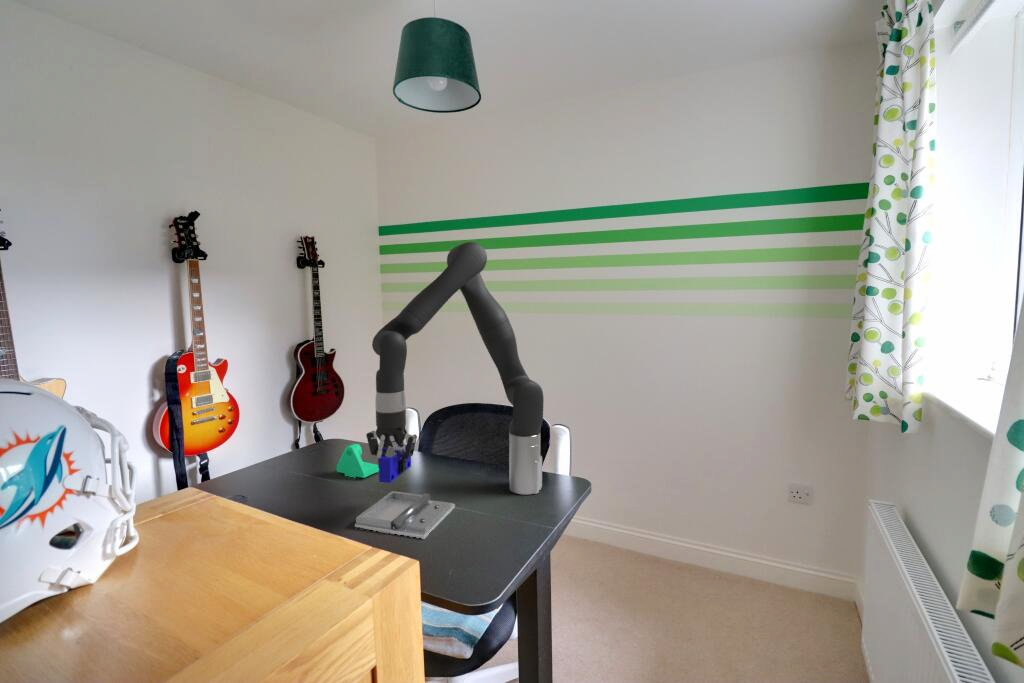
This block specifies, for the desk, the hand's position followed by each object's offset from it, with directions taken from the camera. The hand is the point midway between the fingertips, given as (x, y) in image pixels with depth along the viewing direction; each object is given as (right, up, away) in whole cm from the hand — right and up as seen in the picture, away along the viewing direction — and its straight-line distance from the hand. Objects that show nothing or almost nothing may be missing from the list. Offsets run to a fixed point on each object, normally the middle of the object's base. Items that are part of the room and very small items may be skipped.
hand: (392, 471), depth 124 cm
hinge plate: (+4, -12, 0) cm, 12 cm away
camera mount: (-19, -9, +31) cm, 37 cm away
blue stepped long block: (0, -1, +1) cm, 1 cm away
